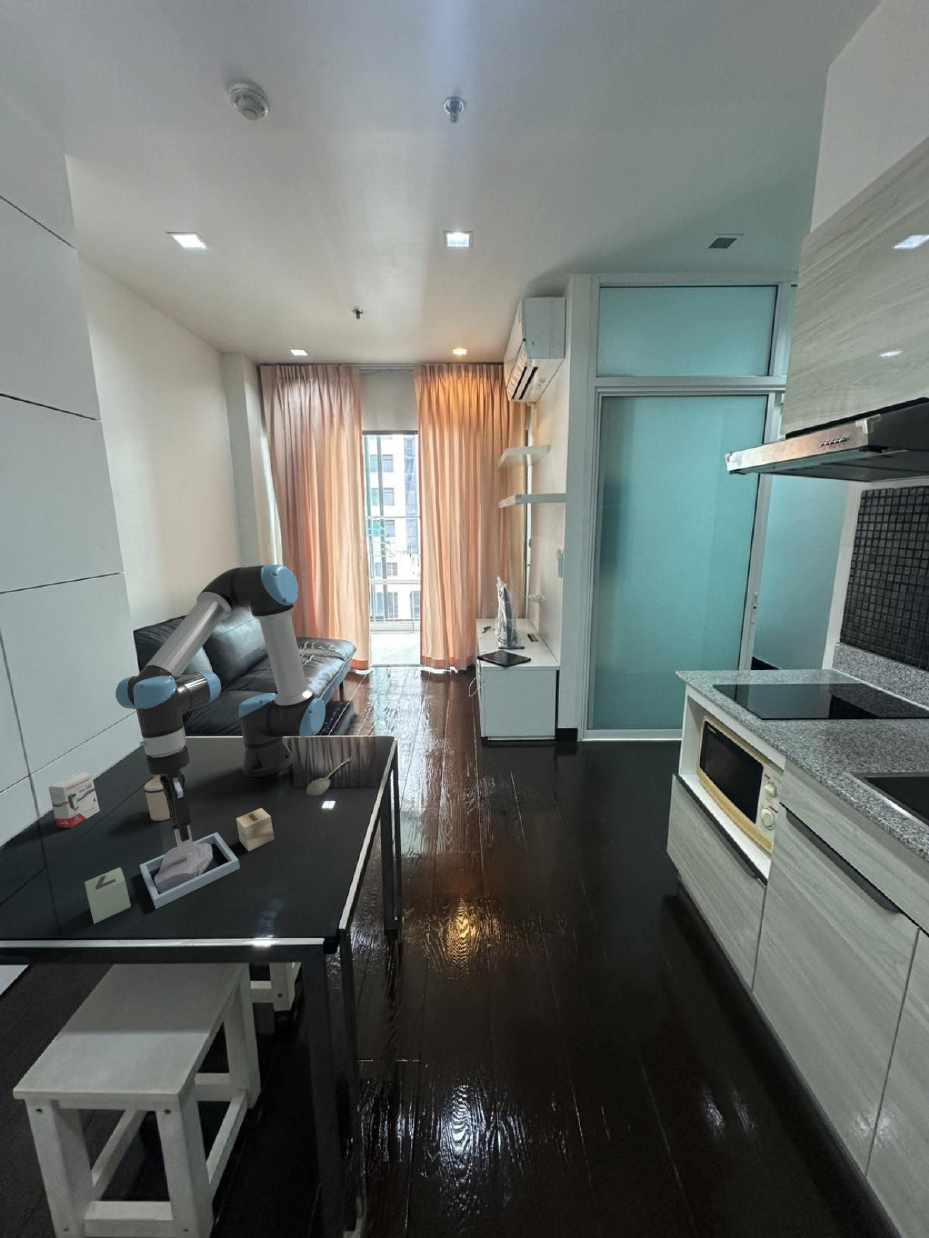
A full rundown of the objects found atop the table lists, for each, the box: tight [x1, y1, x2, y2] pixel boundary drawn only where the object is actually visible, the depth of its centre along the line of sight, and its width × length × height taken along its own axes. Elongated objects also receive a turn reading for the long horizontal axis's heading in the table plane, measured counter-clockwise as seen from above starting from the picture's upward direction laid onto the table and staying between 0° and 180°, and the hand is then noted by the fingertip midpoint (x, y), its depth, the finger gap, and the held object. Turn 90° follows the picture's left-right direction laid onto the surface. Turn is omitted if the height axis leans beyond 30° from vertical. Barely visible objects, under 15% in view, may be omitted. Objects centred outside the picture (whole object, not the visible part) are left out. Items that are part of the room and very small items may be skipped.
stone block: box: [153, 843, 214, 894], centre depth 107 cm, size 12×5×10 cm
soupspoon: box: [305, 756, 353, 796], centre depth 147 cm, size 22×3×7 cm
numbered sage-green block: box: [84, 866, 132, 925], centre depth 98 cm, size 6×6×6 cm
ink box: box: [48, 772, 101, 829], centre depth 134 cm, size 9×5×12 cm, turn 168°
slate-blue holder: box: [139, 831, 241, 910], centre depth 108 cm, size 16×16×2 cm
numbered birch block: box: [235, 807, 275, 852], centre depth 117 cm, size 6×6×6 cm
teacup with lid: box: [143, 775, 171, 822], centre depth 134 cm, size 12×9×12 cm
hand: (186, 851), depth 107 cm, fingers closed
